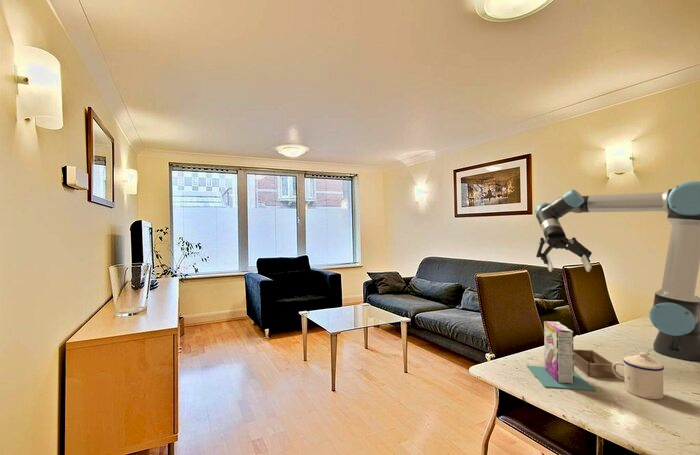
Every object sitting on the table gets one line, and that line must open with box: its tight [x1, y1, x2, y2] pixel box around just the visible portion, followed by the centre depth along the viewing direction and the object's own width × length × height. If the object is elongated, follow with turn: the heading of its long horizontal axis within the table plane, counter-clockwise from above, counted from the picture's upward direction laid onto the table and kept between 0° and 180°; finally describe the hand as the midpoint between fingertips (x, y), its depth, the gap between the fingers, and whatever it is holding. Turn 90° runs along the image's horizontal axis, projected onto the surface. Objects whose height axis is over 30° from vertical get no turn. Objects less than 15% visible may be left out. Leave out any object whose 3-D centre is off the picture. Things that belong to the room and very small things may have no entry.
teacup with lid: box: [612, 351, 665, 400], centre depth 102 cm, size 12×9×12 cm
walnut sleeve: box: [573, 348, 617, 379], centre depth 118 cm, size 8×14×4 cm, turn 170°
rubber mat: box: [526, 365, 597, 392], centre depth 111 cm, size 14×16×1 cm
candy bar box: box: [543, 320, 575, 384], centre depth 111 cm, size 11×5×16 cm, turn 169°
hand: (570, 269), depth 134 cm, fingers open, 13 cm apart
